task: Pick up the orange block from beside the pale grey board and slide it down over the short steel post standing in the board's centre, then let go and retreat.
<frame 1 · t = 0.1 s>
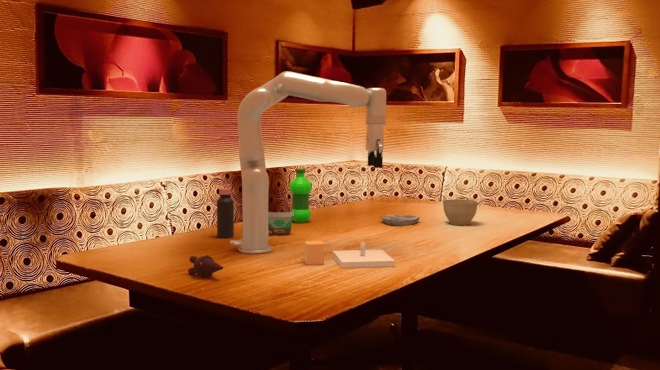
hand: (374, 166, 242), 31 cm above the table, tool pointing down, fingers open, 9 cm apart
grey stone plate: (398, 223, 303), on the table
post board: (362, 261, 222), on the table
vinegar: (225, 237, 264), on the table
planter bowl: (459, 224, 302), on the table
plastic bottle: (300, 222, 303), on the table
food container: (280, 235, 269), on the table
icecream: (205, 277, 199), on the table
orange block: (314, 262, 219), on the table
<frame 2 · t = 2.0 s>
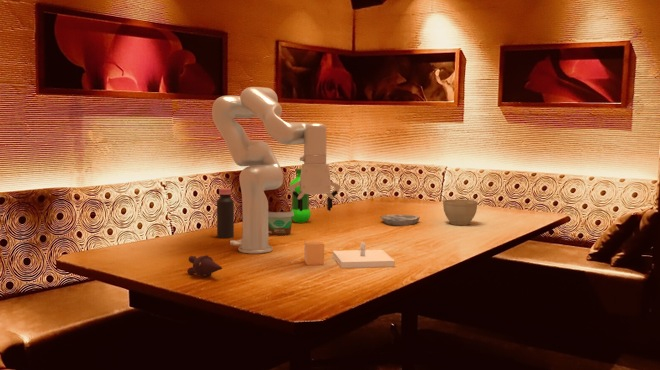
hand: (314, 210, 217), 18 cm above the table, tool pointing down, fingers open, 9 cm apart
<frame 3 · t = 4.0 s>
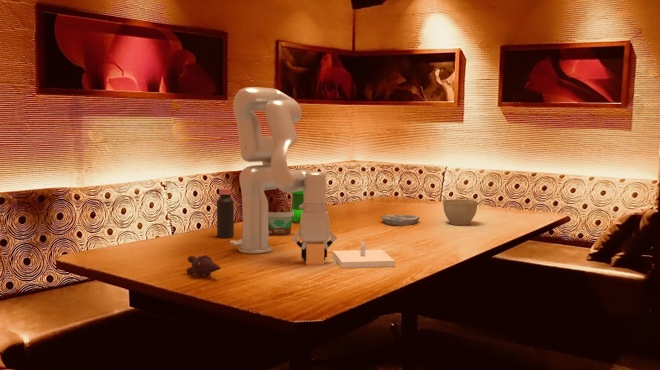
hand: (314, 259, 219), 1 cm above the table, tool pointing down, fingers closed on orange block, 5 cm apart
orange block: (314, 262, 219), on the table, touching gripper
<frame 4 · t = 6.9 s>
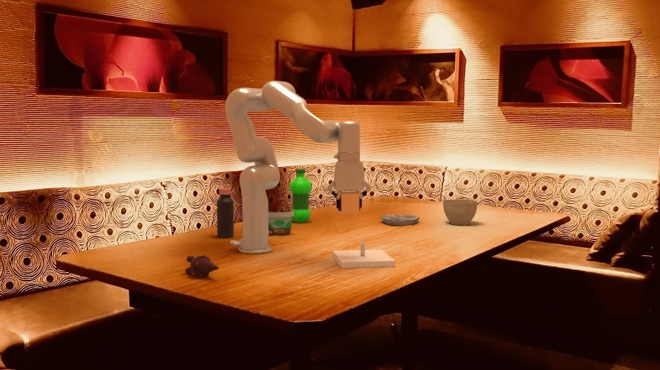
hand: (349, 209, 219), 18 cm above the table, tool pointing down, fingers closed on orange block, 5 cm apart
orange block: (349, 212, 219), point 17 cm above the table, touching gripper
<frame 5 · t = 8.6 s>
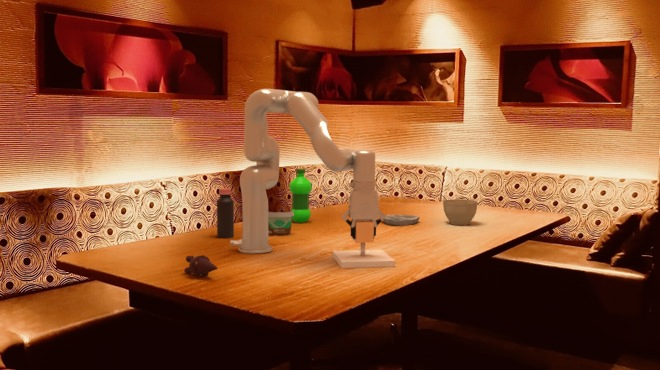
hand: (363, 237, 221), 8 cm above the table, tool pointing down, fingers closed on orange block, 5 cm apart
orange block: (363, 240, 221), point 7 cm above the table, touching gripper
when the fingers open (4 cm above the table, at t = 9.9 s): orange block stays where it is, resting on post board.
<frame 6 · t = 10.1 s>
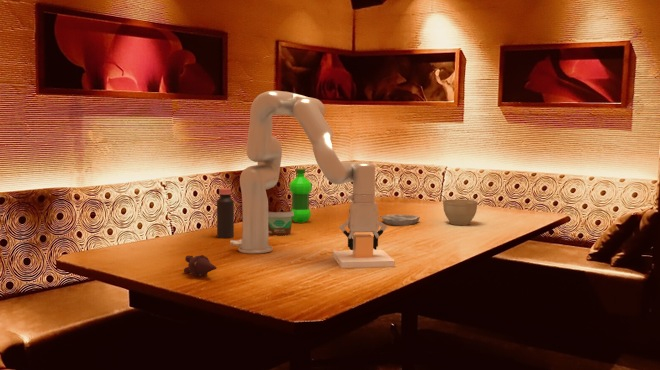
hand: (362, 248, 222), 4 cm above the table, tool pointing down, fingers open, 7 cm apart
orange block: (362, 255, 222), point 2 cm above the table, touching post board
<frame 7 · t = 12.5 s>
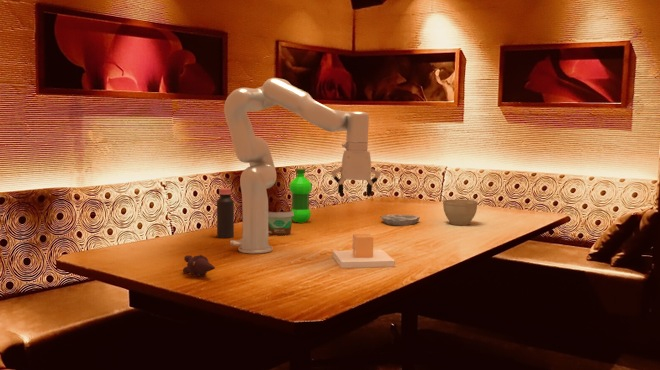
hand: (354, 195, 225), 22 cm above the table, tool pointing down, fingers open, 9 cm apart
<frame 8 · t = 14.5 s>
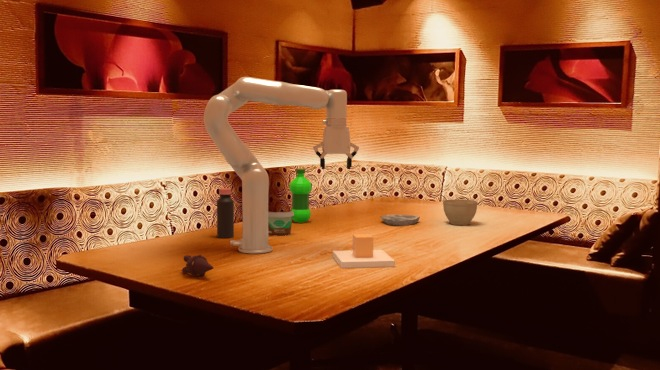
hand: (335, 169, 239), 30 cm above the table, tool pointing down, fingers open, 9 cm apart
at the end: orange block 0.1 cm from the post board (horizontally); orange block point 2.0 cm above the table; the gripper is holding nothing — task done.
